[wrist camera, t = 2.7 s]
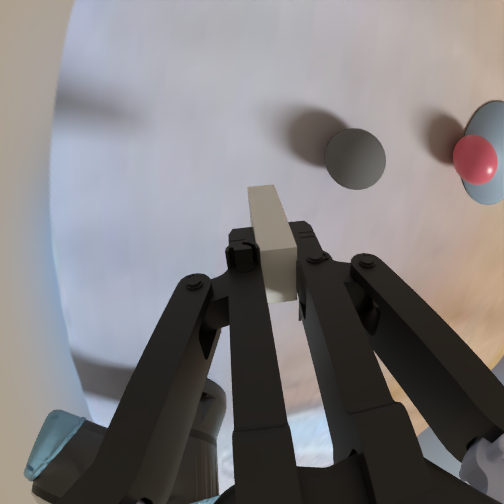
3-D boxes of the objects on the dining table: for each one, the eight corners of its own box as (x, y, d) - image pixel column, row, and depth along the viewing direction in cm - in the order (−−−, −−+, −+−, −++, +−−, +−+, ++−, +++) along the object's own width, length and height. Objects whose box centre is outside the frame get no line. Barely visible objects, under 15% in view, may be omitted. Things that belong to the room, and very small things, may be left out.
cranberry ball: (440, 174, 30) (469, 193, 25) (445, 127, 27) (477, 141, 22) (473, 174, 30) (501, 192, 25) (478, 131, 27) (510, 145, 22)
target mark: (452, 206, 32) (453, 207, 32) (465, 93, 25) (466, 93, 25) (516, 202, 33) (517, 203, 32) (530, 110, 25) (531, 110, 25)
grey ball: (317, 179, 30) (335, 202, 25) (316, 124, 27) (336, 136, 22) (369, 176, 30) (393, 197, 25) (371, 123, 27) (398, 136, 22)
